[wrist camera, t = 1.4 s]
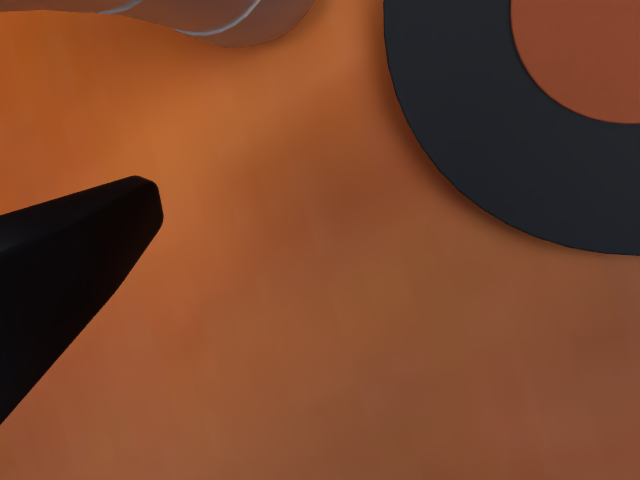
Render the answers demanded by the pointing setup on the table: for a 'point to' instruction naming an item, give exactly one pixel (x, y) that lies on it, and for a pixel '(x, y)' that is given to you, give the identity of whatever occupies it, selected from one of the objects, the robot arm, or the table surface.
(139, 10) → the plastic bottle
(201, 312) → the table surface
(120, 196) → the robot arm
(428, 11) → the ring
